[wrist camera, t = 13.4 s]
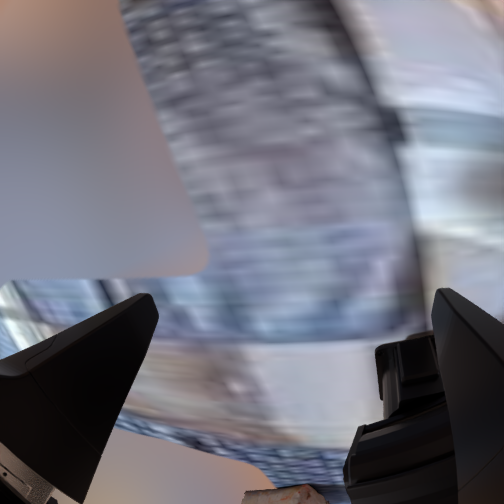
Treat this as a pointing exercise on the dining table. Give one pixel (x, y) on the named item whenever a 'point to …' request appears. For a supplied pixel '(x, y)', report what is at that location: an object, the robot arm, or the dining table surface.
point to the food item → (285, 496)
